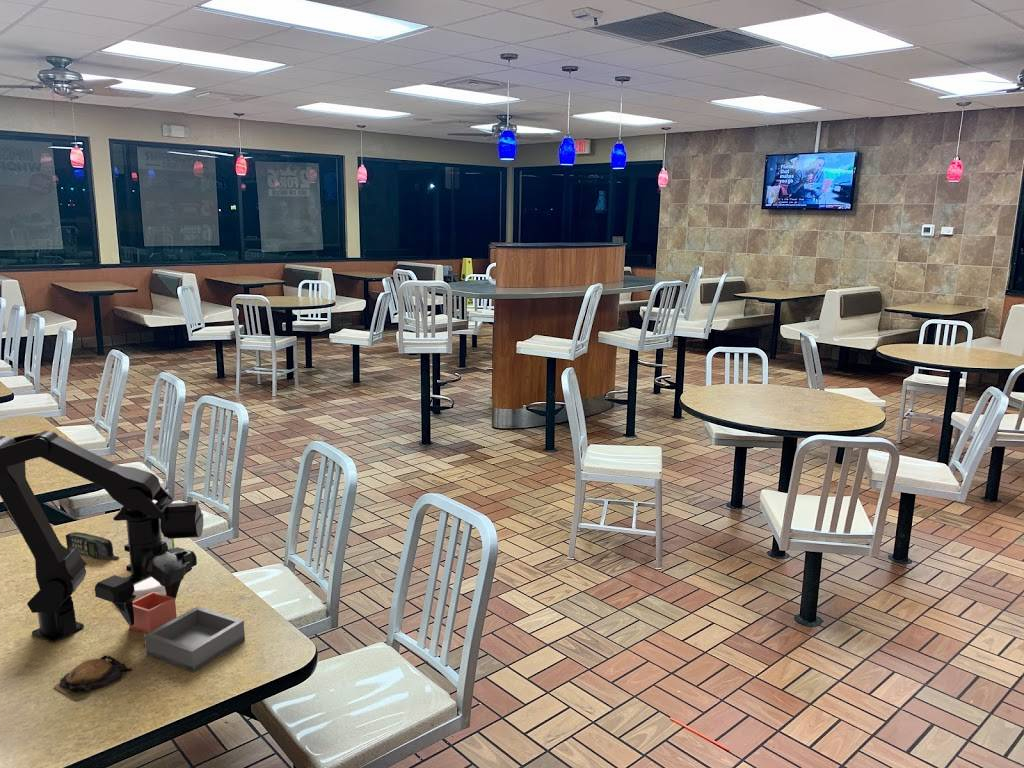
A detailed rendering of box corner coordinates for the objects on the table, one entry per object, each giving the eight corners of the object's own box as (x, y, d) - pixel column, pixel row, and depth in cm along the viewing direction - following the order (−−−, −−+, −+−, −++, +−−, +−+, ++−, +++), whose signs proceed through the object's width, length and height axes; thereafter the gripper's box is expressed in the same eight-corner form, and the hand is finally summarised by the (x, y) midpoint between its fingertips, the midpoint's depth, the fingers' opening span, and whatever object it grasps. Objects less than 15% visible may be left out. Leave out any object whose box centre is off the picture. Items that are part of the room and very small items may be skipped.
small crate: (129, 628, 149) (127, 604, 148) (155, 614, 154) (153, 591, 153) (150, 635, 146) (148, 611, 145) (176, 621, 151) (174, 598, 150)
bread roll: (77, 706, 126) (75, 686, 125) (50, 689, 130) (47, 670, 129) (138, 674, 135) (136, 655, 134) (110, 659, 139) (108, 641, 138)
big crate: (146, 655, 140) (144, 635, 139) (199, 625, 150) (197, 606, 149) (193, 672, 134) (191, 651, 134) (244, 640, 145) (243, 620, 144)
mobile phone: (62, 534, 181) (108, 542, 176) (74, 529, 184) (119, 538, 178) (65, 553, 182) (111, 563, 177) (76, 549, 185) (122, 558, 179)
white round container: (114, 593, 163) (112, 578, 162) (163, 580, 169) (162, 565, 169) (127, 611, 155) (126, 595, 155) (178, 596, 162) (177, 581, 161)
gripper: (130, 566, 135) (138, 647, 138) (214, 529, 151) (219, 602, 154) (88, 554, 140) (97, 632, 143) (174, 519, 156) (180, 590, 159)
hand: (152, 614), depth 150 cm, fingers open, 9 cm apart
